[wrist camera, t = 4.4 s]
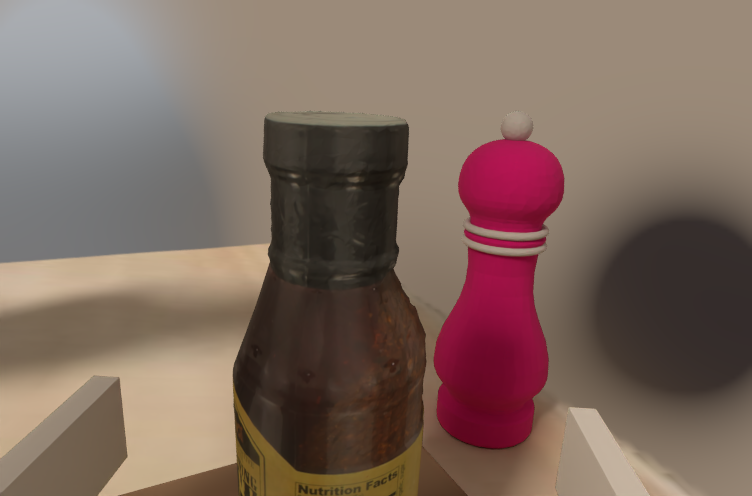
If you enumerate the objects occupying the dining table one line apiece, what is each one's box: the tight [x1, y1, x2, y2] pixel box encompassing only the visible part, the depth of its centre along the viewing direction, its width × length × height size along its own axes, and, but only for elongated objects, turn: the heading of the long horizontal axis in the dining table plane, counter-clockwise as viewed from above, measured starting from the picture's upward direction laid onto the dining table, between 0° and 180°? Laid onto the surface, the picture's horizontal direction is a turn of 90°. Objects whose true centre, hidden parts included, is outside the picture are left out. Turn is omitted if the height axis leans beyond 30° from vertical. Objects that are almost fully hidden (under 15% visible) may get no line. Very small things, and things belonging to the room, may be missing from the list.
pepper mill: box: [434, 111, 564, 448], centre depth 32 cm, size 7×7×20 cm
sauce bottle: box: [233, 111, 426, 496], centre depth 18 cm, size 7×6×20 cm
